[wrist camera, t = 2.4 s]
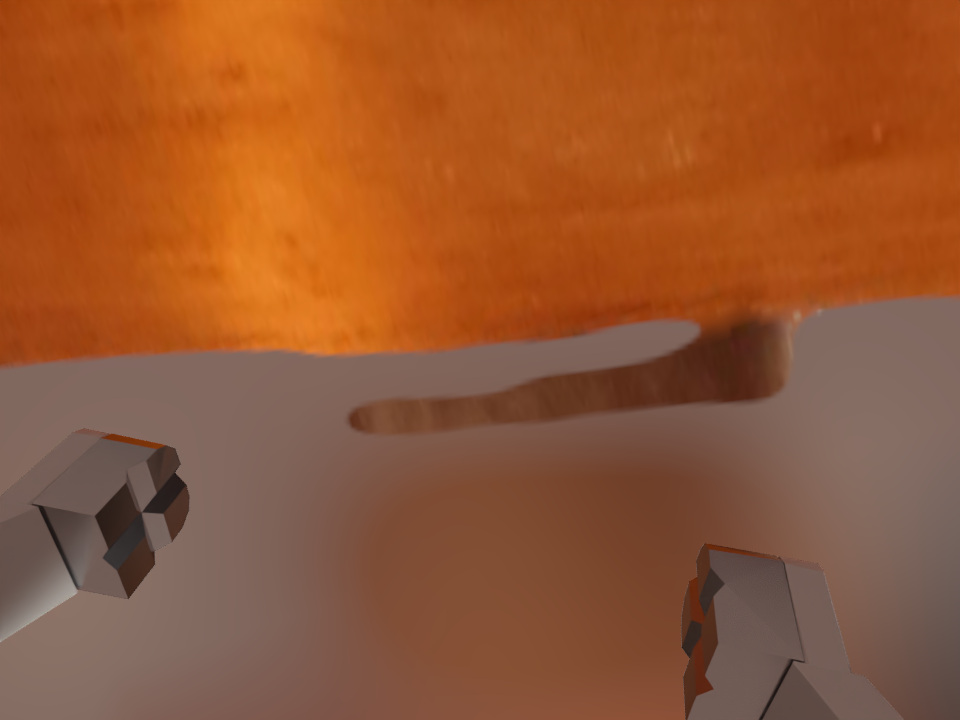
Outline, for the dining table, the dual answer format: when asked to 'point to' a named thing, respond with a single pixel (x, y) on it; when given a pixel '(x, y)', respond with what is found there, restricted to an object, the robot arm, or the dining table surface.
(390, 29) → the dining table surface
